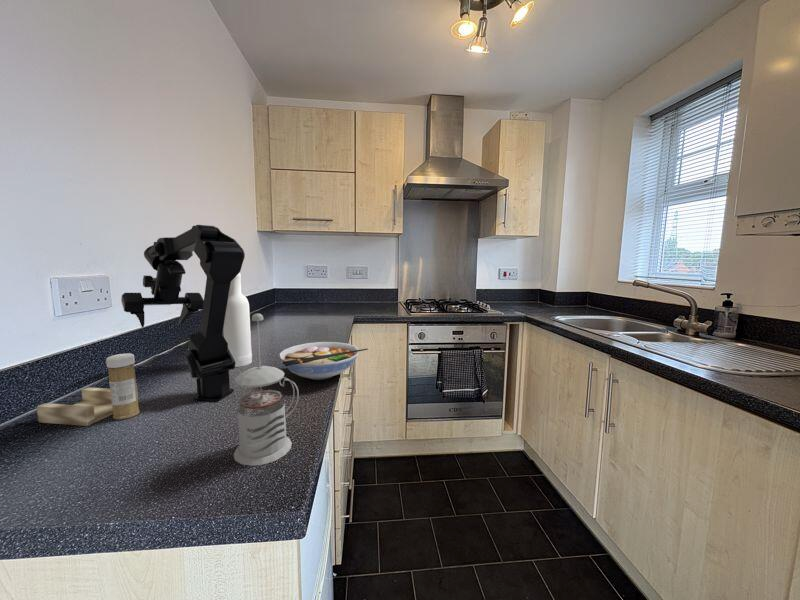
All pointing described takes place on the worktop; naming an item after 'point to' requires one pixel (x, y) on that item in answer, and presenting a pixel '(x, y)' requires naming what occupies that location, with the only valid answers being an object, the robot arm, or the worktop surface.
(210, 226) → the robot arm
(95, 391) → the bottle rest
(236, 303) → the bottle
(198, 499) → the worktop surface
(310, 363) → the ramen bowl
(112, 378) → the sprinkles bottle
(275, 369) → the french press
